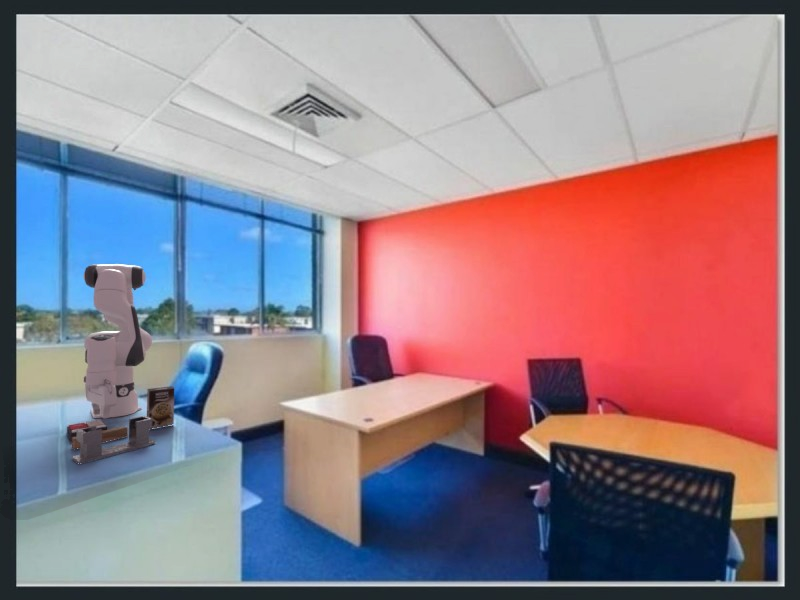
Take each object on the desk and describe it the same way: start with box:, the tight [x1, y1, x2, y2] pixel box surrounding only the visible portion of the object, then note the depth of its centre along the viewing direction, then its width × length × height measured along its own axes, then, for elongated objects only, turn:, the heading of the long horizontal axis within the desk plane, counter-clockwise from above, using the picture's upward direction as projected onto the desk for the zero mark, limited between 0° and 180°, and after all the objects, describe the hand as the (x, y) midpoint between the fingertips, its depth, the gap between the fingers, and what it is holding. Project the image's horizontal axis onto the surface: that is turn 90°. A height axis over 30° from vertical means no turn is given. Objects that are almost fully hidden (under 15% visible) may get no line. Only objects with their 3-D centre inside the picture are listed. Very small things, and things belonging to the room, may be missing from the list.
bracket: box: [71, 415, 156, 465], centre depth 131 cm, size 7×22×10 cm, turn 145°
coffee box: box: [146, 386, 175, 429], centre depth 158 cm, size 9×6×16 cm
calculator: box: [66, 419, 109, 443], centre depth 148 cm, size 11×4×15 cm
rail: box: [71, 425, 129, 450], centre depth 140 cm, size 3×16×4 cm, turn 145°
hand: (100, 415), depth 139 cm, fingers open, 8 cm apart
